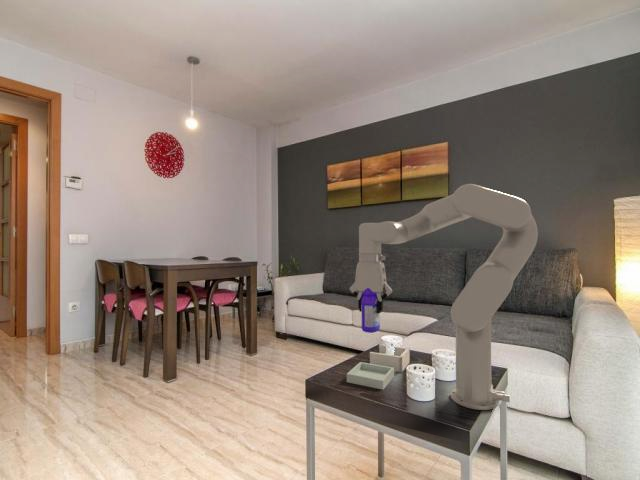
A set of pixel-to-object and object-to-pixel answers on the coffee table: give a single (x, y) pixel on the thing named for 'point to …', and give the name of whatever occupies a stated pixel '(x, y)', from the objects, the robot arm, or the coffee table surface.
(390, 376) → the tray
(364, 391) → the coffee table surface
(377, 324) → the bottle
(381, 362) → the box
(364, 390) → the coffee table surface
